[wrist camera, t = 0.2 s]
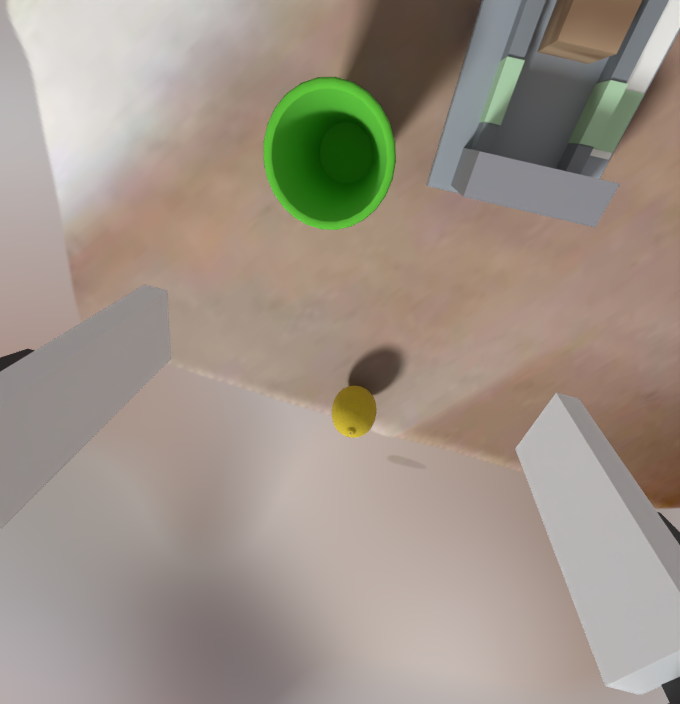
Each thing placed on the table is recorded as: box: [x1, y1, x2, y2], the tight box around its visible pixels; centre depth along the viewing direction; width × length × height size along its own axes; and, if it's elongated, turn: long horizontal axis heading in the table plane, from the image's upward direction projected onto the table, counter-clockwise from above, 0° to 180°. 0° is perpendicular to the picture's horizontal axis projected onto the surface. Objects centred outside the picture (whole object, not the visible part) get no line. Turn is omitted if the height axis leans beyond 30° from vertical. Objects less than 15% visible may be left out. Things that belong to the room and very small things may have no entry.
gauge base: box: [427, 0, 680, 227], centre depth 23 cm, size 26×14×8 cm, turn 169°
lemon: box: [332, 386, 376, 438], centre depth 44 cm, size 6×6×8 cm
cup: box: [264, 77, 396, 230], centre depth 28 cm, size 9×9×11 cm
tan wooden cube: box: [537, 0, 642, 64], centre depth 24 cm, size 4×4×4 cm
